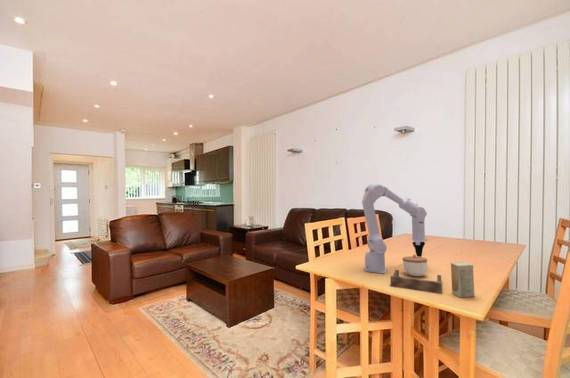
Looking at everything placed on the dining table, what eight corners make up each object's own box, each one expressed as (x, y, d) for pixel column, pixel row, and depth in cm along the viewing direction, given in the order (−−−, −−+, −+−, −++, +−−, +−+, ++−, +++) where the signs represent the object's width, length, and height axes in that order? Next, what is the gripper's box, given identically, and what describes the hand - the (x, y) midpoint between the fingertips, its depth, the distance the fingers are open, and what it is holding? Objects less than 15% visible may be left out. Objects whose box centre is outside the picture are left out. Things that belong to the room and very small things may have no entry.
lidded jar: (427, 278, 119) (425, 257, 120) (401, 275, 125) (400, 255, 125) (429, 273, 128) (427, 254, 129) (405, 271, 134) (404, 252, 134)
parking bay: (390, 285, 114) (390, 276, 114) (395, 274, 128) (395, 266, 128) (441, 293, 104) (441, 283, 104) (441, 280, 118) (441, 271, 118)
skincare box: (466, 292, 105) (466, 261, 105) (475, 296, 100) (474, 264, 100) (450, 293, 105) (450, 262, 105) (458, 297, 100) (457, 265, 100)
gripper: (426, 232, 128) (427, 260, 128) (427, 228, 140) (428, 253, 140) (410, 231, 131) (411, 259, 131) (412, 227, 144) (413, 252, 144)
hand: (419, 256), depth 136 cm, fingers closed
